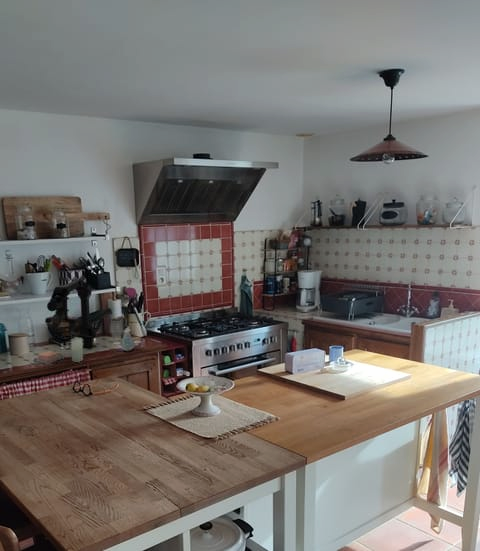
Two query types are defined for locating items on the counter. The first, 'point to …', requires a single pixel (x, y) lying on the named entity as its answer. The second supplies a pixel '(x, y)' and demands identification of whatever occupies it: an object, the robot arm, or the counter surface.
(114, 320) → the coffee box
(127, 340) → the toy figure
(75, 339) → the column brick
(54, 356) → the tower base
